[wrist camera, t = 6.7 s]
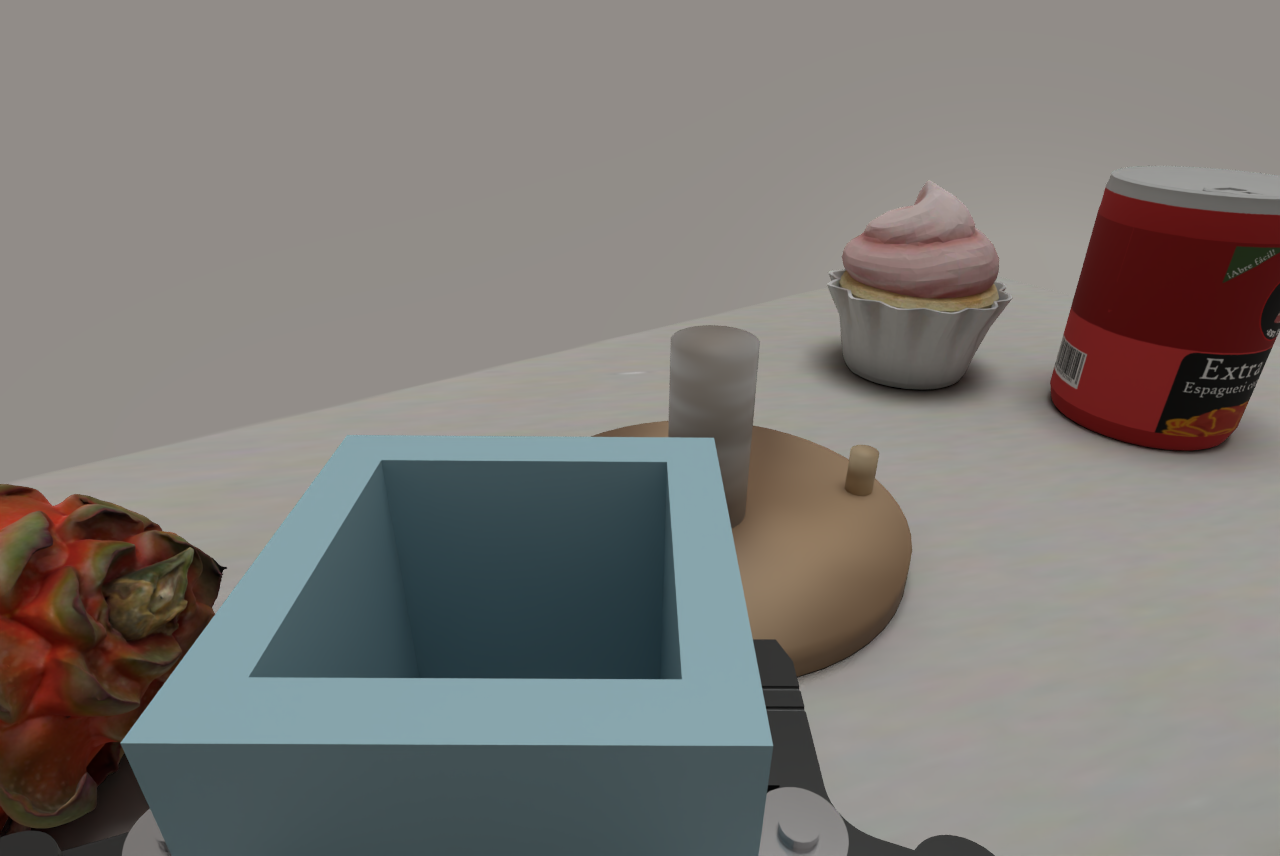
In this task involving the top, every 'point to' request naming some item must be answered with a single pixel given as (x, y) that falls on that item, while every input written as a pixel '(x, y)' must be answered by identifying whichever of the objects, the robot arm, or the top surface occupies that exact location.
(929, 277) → the cupcake
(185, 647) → the dragon fruit
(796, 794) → the robot arm
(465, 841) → the blue pencil cup
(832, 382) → the top surface
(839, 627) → the post plate
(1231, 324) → the canned food
